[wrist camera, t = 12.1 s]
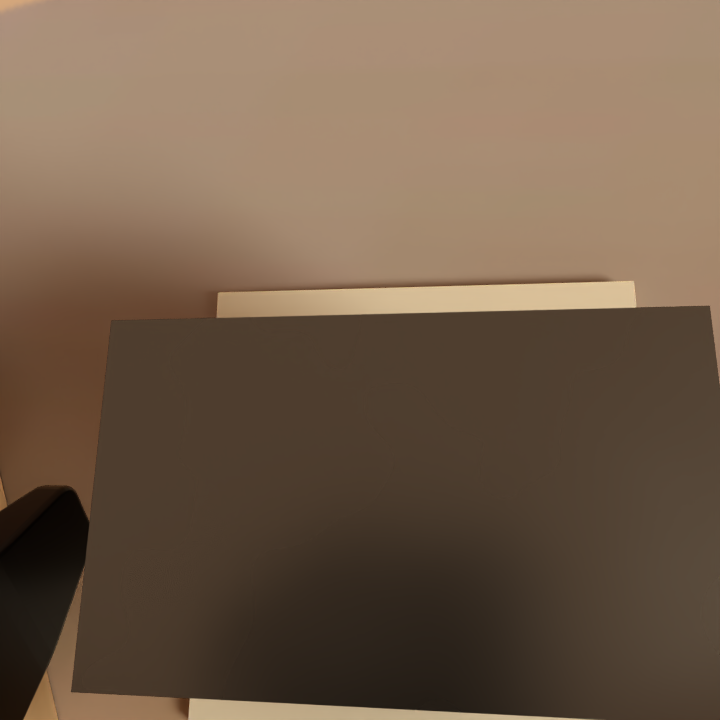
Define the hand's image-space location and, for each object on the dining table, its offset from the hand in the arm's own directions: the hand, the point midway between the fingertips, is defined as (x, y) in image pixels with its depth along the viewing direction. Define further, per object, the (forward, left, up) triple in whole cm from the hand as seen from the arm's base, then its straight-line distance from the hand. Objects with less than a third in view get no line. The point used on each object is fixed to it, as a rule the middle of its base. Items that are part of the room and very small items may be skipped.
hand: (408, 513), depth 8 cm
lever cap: (0, 0, -6) cm, 6 cm away
